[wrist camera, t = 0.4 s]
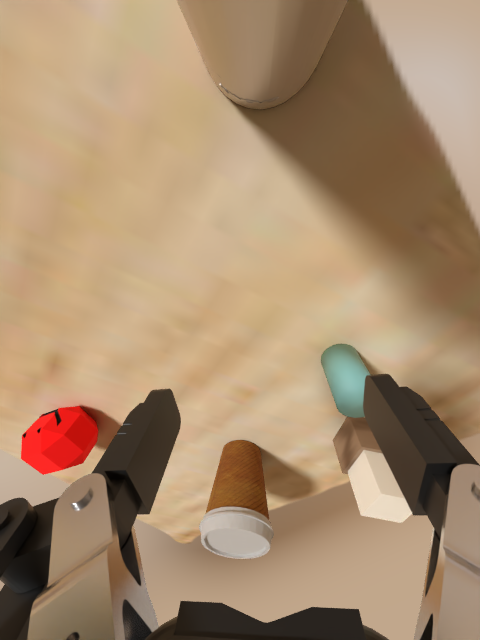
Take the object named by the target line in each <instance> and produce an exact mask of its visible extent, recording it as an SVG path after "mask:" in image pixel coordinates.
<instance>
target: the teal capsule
mask: <svg viewBox="0 0 480 640" xmlns="http://www.w3.org/2000/svg"><path fill="white" fill-rule="evenodd" d="M321 363H322V366H323V369H324V372H325V375H326V378H327V381H328V383H329V386H330V389H331V392H332V395H333V398H334V401H335V403H336V406H337V409H338V410H339V412H340V413H342V414H343V415H345V416H348V417H353V418H360V417H365V415H364V411H363V399H364V386H365V378H366V376H367V375H370V373H369V371H368V370H367V368H366V366H365V364H364V363H363V361H362V359H361V358H360V356H359V354H358V353H357V351H356V349H355V348H353V347H352V346H350V345H347V344H336V345H333V346H331V347H329V348H328V349H326V350H325V351H324V353H323V354H322V357H321Z"/></svg>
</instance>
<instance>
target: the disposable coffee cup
mask: <svg viewBox="0 0 480 640" xmlns="http://www.w3.org/2000/svg"><path fill="white" fill-rule="evenodd" d="M199 529H200V532H201V542H202V544H203V546H204V547H205V548H206V549H208V550H209V551H211V552H213V553H215V554H217V555H220V556H224V557H229V558H236V559H251V558H257V557H260V556H263V555H264V554H266V553H267V552H268V551H269V549H270V544H271V540H272V538H273V535H274V533H273V529H272V527H271V523H270V521H269V515H268V507H267V499H266V491H265V484H264V476H263V468H262V460H261V452H260V449H259V448H258V447H257V446H256V445H255V444H253V443H251V442H249V441H244V440H236V441H231V442H229V443H227V444H226V445H225V446H224V448H223V452H222V455H221V459H220V463H219V466H218V470H217V474H216V477H215V481H214V485H213V488H212V492H211V496H210V499H209V503H208V507H207V510H206V514H205V515H204V517H203V520H202V521H201V523H200V526H199Z"/></svg>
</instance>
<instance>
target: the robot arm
mask: <svg viewBox="0 0 480 640" xmlns="http://www.w3.org/2000/svg"><path fill="white" fill-rule="evenodd" d="M177 2H178V4H179V6H180V9H181V11H182V13H183V15H184V18H185V20H186V22H187V25H188V27H189V29H190V31H191V34H192V36H193V38H194V41H195V43H196V45H197V47H198V50H199V52H200V54H201V56H202V59H203V61H204V63H205V65H206V68H207V70H208V72H209V74H210V75H211V77H212V79H213V80H214V82H215V84H216V85H217V87H218V88H219V89H220V90H221V91H222V92H223V93H224V94H225V95H226V96H227V97H228V98H229V99H231V100H232V101H234V102H235V103H237V104H239V105H241V106H244V107H247V108H251V109H266V108H272V107H275V106H277V105H279V104H282V103H284V102H286V101H287V100H288V99H290V98H291V97H292V96H294V95H295V94H296V93H297V92H298V91H299V90H300V89H301V88H302V87H303V86H304V84H305V83H306V82H307V81H308V80H309V78H310V76H311V75H312V73H313V71H314V70H315V68H316V66H317V65H318V63H319V60H320V58H321V56H322V54H323V52H324V50H325V48H326V46H327V43H328V41H329V39H330V38H331V36H332V33H333V31H334V29H335V27H336V25H337V23H338V21H339V19H340V16H341V14H342V12H343V10H344V8H345V6H346V4H347V2H348V0H177ZM363 411H364V415H365V419H366V421H367V423H368V425H369V427H370V429H371V431H372V433H373V435H374V437H375V439H376V441H377V443H378V445H379V447H380V449H381V451H382V453H383V455H384V457H385V459H386V461H387V463H388V465H389V467H390V469H391V471H392V473H393V475H394V477H395V480H396V482H397V484H398V486H399V488H400V490H401V492H402V494H403V496H404V498H405V500H406V502H407V504H408V506H409V508H410V510H411V512H412V514H413V515H427V516H428V518H429V520H430V521H431V523H432V525H433V527H434V528H433V532H432V538H431V544H430V551H429V557H428V564H427V571H426V577H425V584H424V590H423V597H422V603H421V607H420V612H419V616H418V620H417V625H416V630H415V636H414V640H480V465H479V464H478V463H477V462H476V460H475V459H474V458H473V457H472V456H471V454H470V453H469V452H468V451H467V450H466V449H465V447H464V446H463V445H462V444H461V443H460V442H459V440H458V439H457V438H456V437H455V436H454V434H453V433H452V432H451V431H450V430H449V429H448V427H447V426H446V425H445V424H444V423H443V422H442V421H440V418H439V417H438V416H437V414H436V413H435V412H434V411H432V410H431V407H430V406H429V405H428V404H427V403H426V402H425V400H424V399H423V398H422V397H421V396H420V395H418V394H417V393H415V392H414V391H412V390H411V389H409V388H408V387H399V386H398V385H397V384H396V382H395V381H394V380H393V378H392V377H391V376H390V375H389V374H379V375H367V376H366V378H365V386H364V399H363ZM180 424H181V418H180V413H179V410H178V407H177V404H176V401H175V398H174V395H173V393H172V391H171V389H160V390H152V391H151V392H150V393H149V395H148V397H147V398H146V400H145V402H144V403H140V404H139V405H138V406H137V407H135V408H134V409H133V410H132V411H131V412H130V413H129V415H128V416H127V418H126V420H125V421H124V423H123V426H121V428H120V429H119V431H118V432H117V435H115V437H114V439H113V440H112V442H111V443H110V445H109V447H108V448H107V450H106V451H105V453H104V455H103V456H102V458H101V459H100V461H99V463H98V464H97V466H96V467H95V469H94V471H93V472H92V473H91V474H88V475H86V476H83V477H81V478H80V479H78V480H76V481H75V482H74V483H72V484H71V485H70V486H69V487H68V488H67V489H66V490H65V491H64V492H63V494H62V495H61V496H60V497H59V498H57V499H54V500H51V501H48V502H46V503H42V504H39V505H36V506H34V507H32V506H31V505H30V503H29V502H28V501H27V500H26V499H24V498H15V499H12V500H9V501H7V502H5V503H3V504H1V505H0V580H1V581H2V582H3V583H4V584H5V585H4V586H3V588H2V590H1V591H0V640H388V639H387V638H386V637H384V636H383V635H381V634H379V633H378V632H376V631H375V630H373V629H371V628H369V627H367V626H364V625H362V621H361V617H360V613H359V609H340V608H319V607H311V608H308V609H306V610H303V611H300V612H298V613H294V614H292V615H289V616H286V617H283V618H281V619H278V620H276V621H272V622H269V623H264V622H261V621H259V620H257V619H255V618H252V617H250V616H248V615H246V614H244V613H242V612H240V611H238V610H235V609H233V608H231V607H229V606H227V605H225V604H223V603H212V602H190V601H181V603H180V608H179V613H178V617H175V618H173V619H171V620H170V621H168V622H166V623H164V624H163V625H161V626H160V627H159V626H158V622H157V618H156V615H155V611H154V609H153V605H152V603H151V600H150V598H149V595H148V592H147V588H146V583H145V578H144V573H143V568H142V564H141V558H140V553H139V548H138V543H137V538H136V533H135V529H134V526H133V524H134V521H135V519H136V516H137V514H150V511H151V508H152V505H153V503H154V500H155V497H156V494H157V491H158V489H159V486H160V483H161V480H162V477H163V475H164V472H165V469H166V466H167V463H168V461H169V458H170V455H171V452H172V449H173V447H174V444H175V441H176V438H177V435H178V433H179V430H180Z"/></svg>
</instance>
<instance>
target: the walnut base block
mask: <svg viewBox="0 0 480 640" xmlns="http://www.w3.org/2000/svg"><path fill="white" fill-rule="evenodd" d="M333 442H334V446H335V449H336V453H337V456H338V460H339V463H340V466H341V470H342V473H345V474H348V470H349V469H350V468H351V466H352V465H353V464H354V462H355V461H356V460H357V458H358V457H359V456H360V454H361V453H362V452H363V450H367V451H372V452H377V453H382V451H381V449H380V447H379V445H378V443H377V441H376V439H375V437H374V435H373V433H372V431H371V429H370V427H369V425H368V423H367V421H366V419H365V418H364V417H360V418H353V417H347V418H346V420H345V421H344V423H343V425H342V426H341V428H340V430H339V431H338V433H337V434H336V436H335V438H334V439H333ZM382 454H383V453H382Z"/></svg>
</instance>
